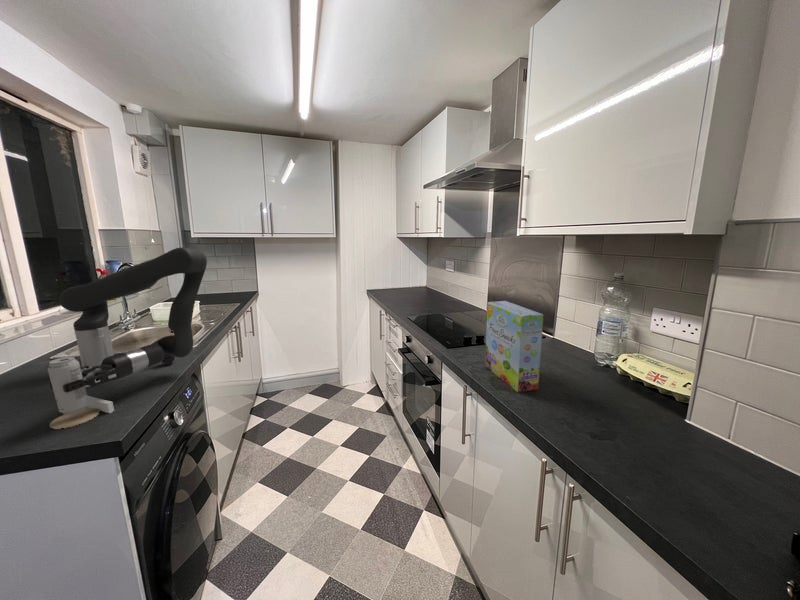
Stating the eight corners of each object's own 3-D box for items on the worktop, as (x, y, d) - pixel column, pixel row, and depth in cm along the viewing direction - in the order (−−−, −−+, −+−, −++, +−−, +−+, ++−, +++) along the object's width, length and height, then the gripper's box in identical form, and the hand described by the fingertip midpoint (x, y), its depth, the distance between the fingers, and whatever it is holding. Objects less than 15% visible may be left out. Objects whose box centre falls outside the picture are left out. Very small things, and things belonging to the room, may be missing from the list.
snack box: (482, 367, 122) (485, 301, 117) (502, 364, 124) (506, 300, 119) (516, 393, 101) (521, 315, 96) (540, 390, 104) (546, 313, 99)
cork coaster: (41, 425, 88) (41, 423, 88) (86, 406, 97) (86, 405, 97) (63, 432, 84) (63, 430, 84) (107, 412, 94) (107, 411, 93)
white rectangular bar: (66, 401, 100) (64, 393, 99) (71, 400, 101) (69, 391, 101) (109, 413, 93) (107, 403, 93) (114, 411, 94) (112, 401, 94)
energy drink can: (67, 406, 92) (54, 357, 89) (94, 402, 94) (82, 354, 91) (54, 417, 86) (40, 365, 83) (82, 412, 88) (69, 361, 85)
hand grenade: (166, 368, 125) (162, 343, 123) (156, 367, 126) (152, 343, 124) (179, 362, 131) (175, 339, 129) (169, 361, 132) (165, 338, 130)
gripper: (109, 350, 103) (37, 371, 88) (139, 354, 99) (69, 378, 83) (114, 371, 105) (44, 396, 89) (143, 377, 100) (76, 404, 85)
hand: (56, 387), depth 86 cm, fingers closed on energy drink can, 6 cm apart
